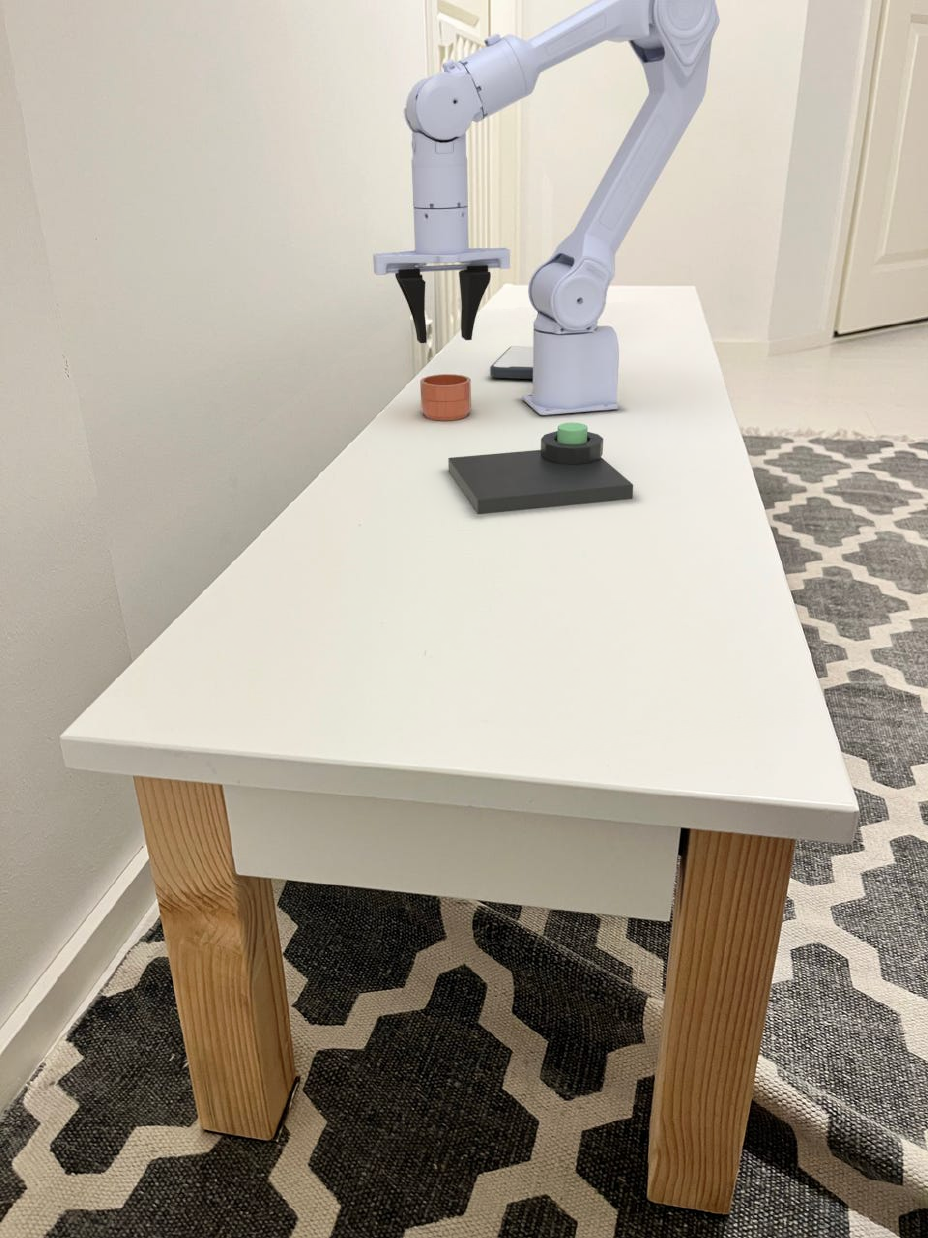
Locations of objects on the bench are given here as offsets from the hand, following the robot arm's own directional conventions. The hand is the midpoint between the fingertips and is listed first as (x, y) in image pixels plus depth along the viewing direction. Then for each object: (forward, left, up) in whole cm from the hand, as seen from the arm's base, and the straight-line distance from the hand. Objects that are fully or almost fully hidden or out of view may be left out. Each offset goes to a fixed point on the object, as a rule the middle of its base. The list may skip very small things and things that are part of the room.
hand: (444, 339), depth 107 cm
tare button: (-8, +22, -6) cm, 24 cm away
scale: (-3, +26, -8) cm, 27 cm away
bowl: (0, 0, -8) cm, 8 cm away
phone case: (-16, -20, -9) cm, 27 cm away
